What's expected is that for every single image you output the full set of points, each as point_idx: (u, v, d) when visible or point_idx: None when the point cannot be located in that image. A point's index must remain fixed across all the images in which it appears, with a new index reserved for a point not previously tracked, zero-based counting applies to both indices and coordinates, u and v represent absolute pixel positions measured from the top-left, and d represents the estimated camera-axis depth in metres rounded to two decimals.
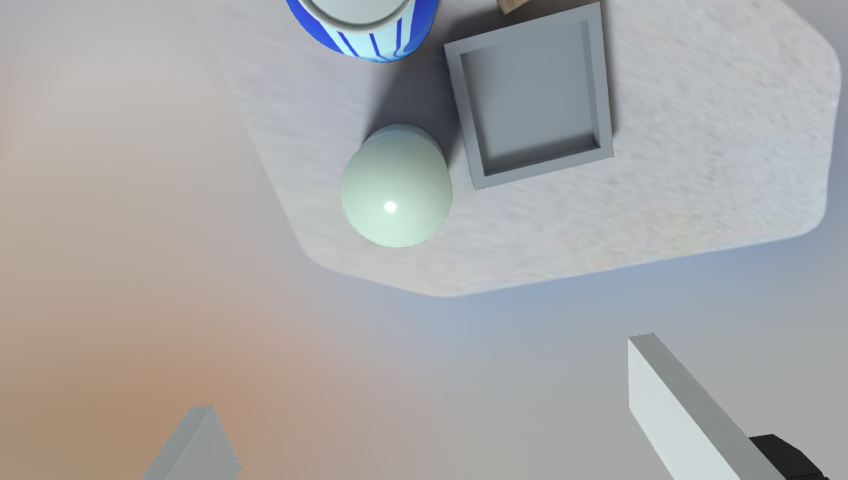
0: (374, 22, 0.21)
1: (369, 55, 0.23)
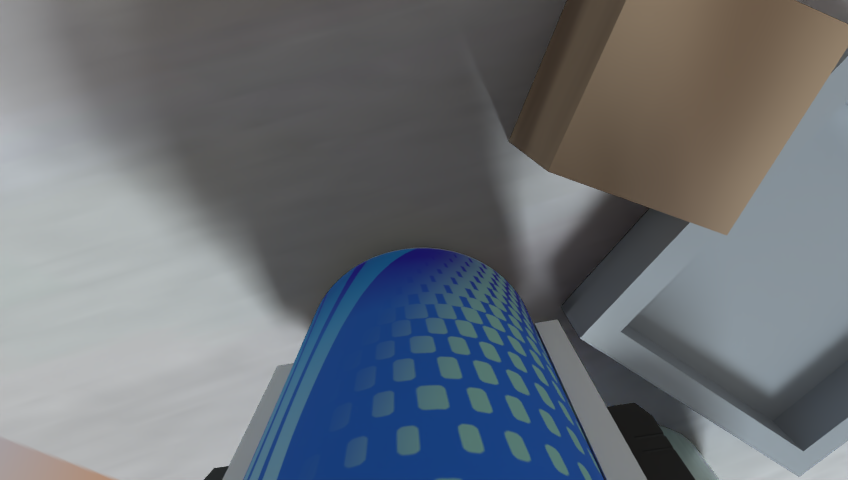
0: None
1: None
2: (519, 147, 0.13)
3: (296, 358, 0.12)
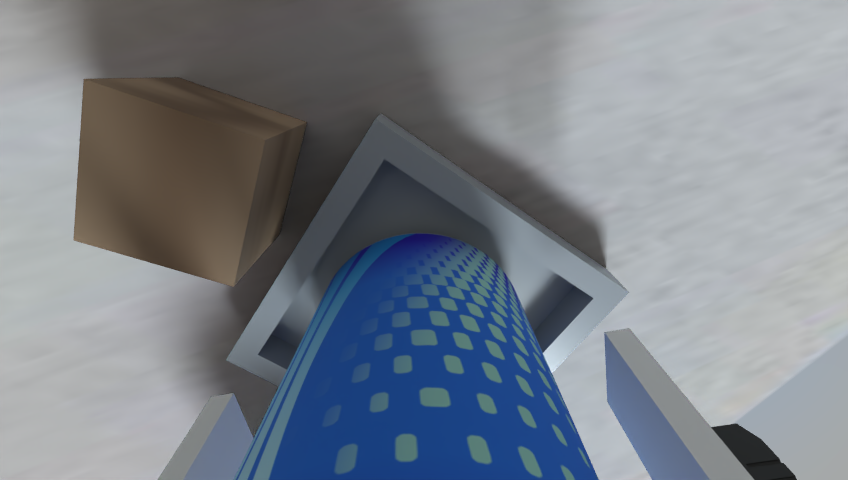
0: None
1: None
2: None
3: (309, 325, 0.14)
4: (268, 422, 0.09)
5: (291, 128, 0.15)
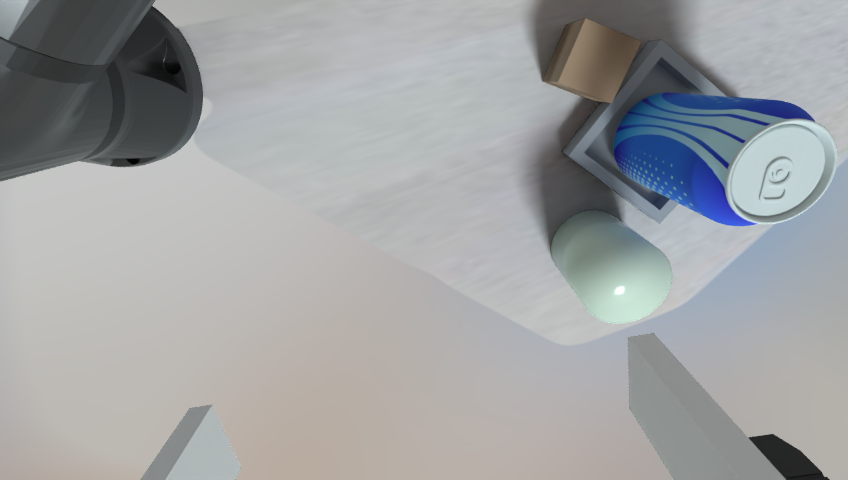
0: (806, 196, 0.27)
1: None
2: (547, 80, 0.38)
3: (639, 120, 0.36)
4: (683, 117, 0.31)
5: None
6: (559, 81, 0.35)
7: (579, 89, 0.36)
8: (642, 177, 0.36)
